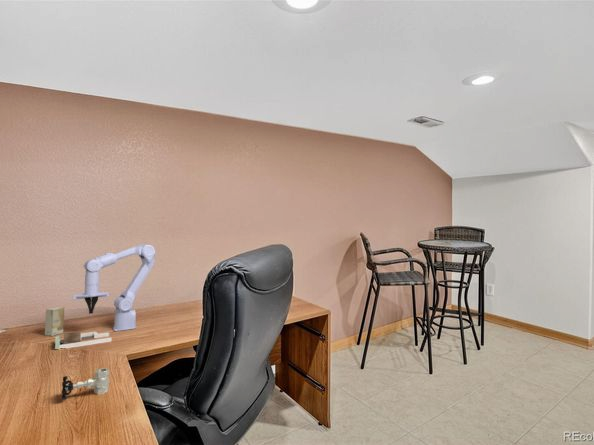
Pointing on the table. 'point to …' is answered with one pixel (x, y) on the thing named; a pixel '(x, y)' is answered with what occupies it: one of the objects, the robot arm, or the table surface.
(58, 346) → the lane
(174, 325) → the table surface
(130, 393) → the table surface
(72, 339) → the block
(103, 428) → the table surface
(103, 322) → the table surface
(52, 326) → the skincare box
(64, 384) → the valve
